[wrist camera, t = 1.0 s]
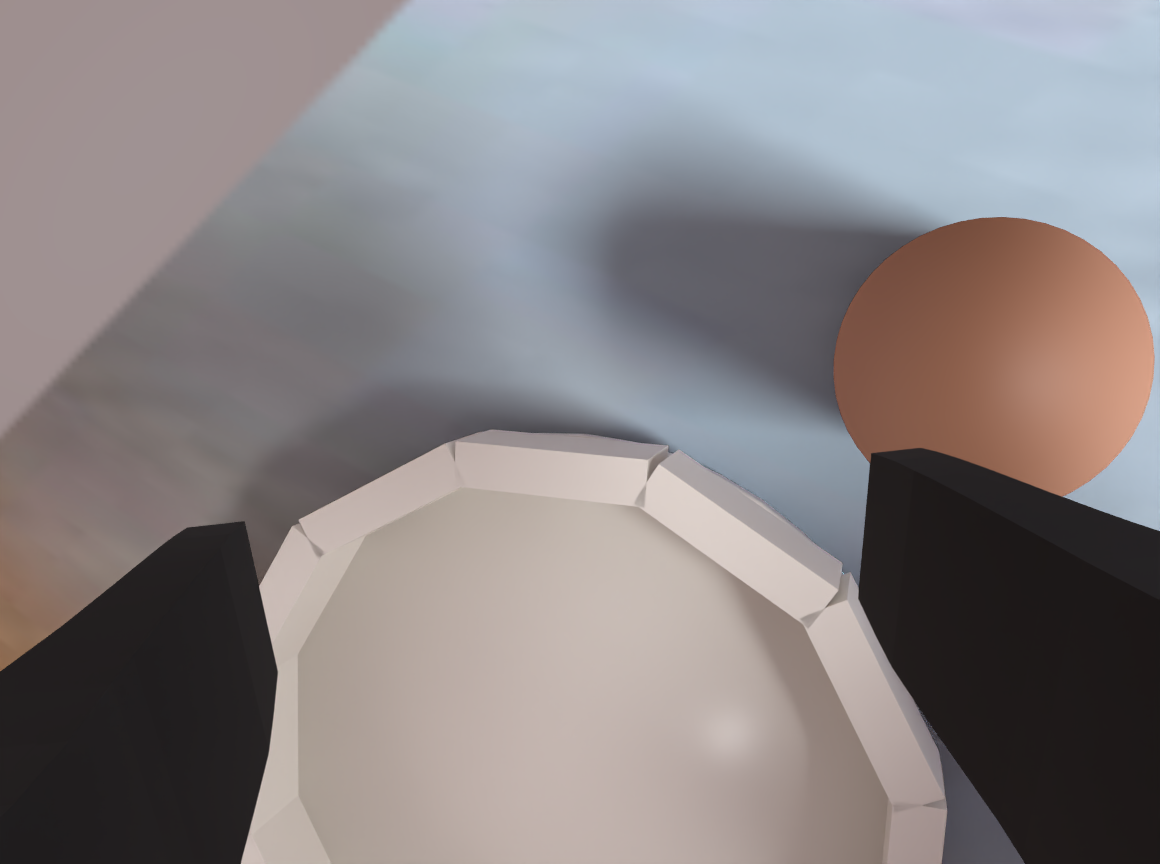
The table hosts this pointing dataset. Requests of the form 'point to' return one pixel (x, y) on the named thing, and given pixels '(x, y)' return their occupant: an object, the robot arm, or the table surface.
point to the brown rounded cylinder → (997, 353)
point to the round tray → (579, 674)
